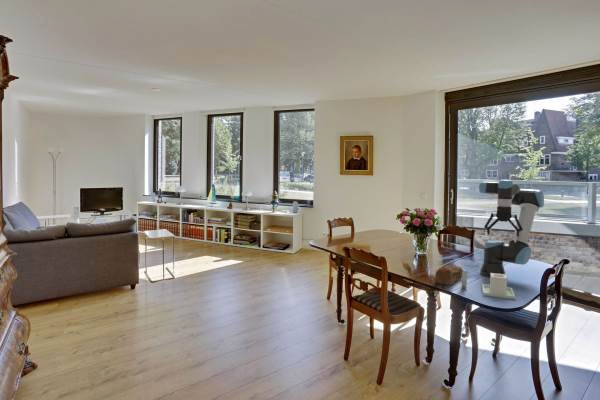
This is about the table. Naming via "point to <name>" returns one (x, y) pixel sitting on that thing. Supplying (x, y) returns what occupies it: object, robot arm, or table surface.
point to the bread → (448, 274)
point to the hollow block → (498, 283)
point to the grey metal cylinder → (464, 280)
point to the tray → (508, 295)
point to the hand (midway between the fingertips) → (502, 241)
